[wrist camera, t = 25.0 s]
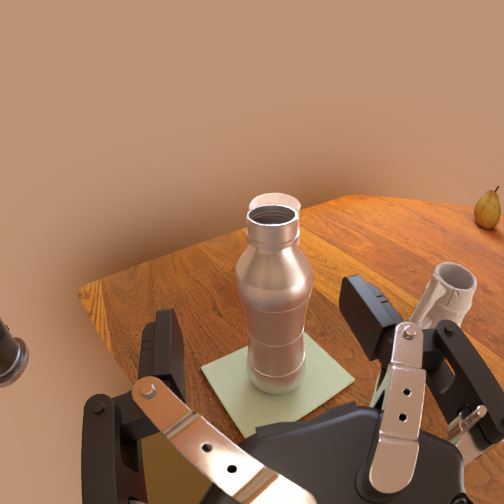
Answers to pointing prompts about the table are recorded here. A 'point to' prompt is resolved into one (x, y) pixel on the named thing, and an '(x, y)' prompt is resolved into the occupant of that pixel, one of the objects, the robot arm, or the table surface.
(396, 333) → the robot arm
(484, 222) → the fruit
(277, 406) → the mat
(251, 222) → the metal bottle
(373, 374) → the table surface
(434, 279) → the mug
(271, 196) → the cup
